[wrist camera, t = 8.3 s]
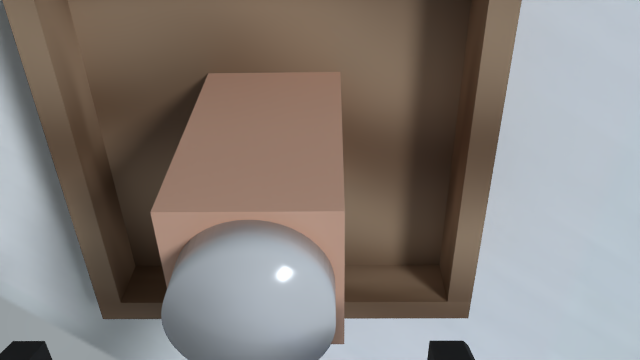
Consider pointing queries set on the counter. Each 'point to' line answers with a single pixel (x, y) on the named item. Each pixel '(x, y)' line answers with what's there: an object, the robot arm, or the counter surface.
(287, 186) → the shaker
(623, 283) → the counter surface
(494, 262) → the counter surface
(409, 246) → the tray
